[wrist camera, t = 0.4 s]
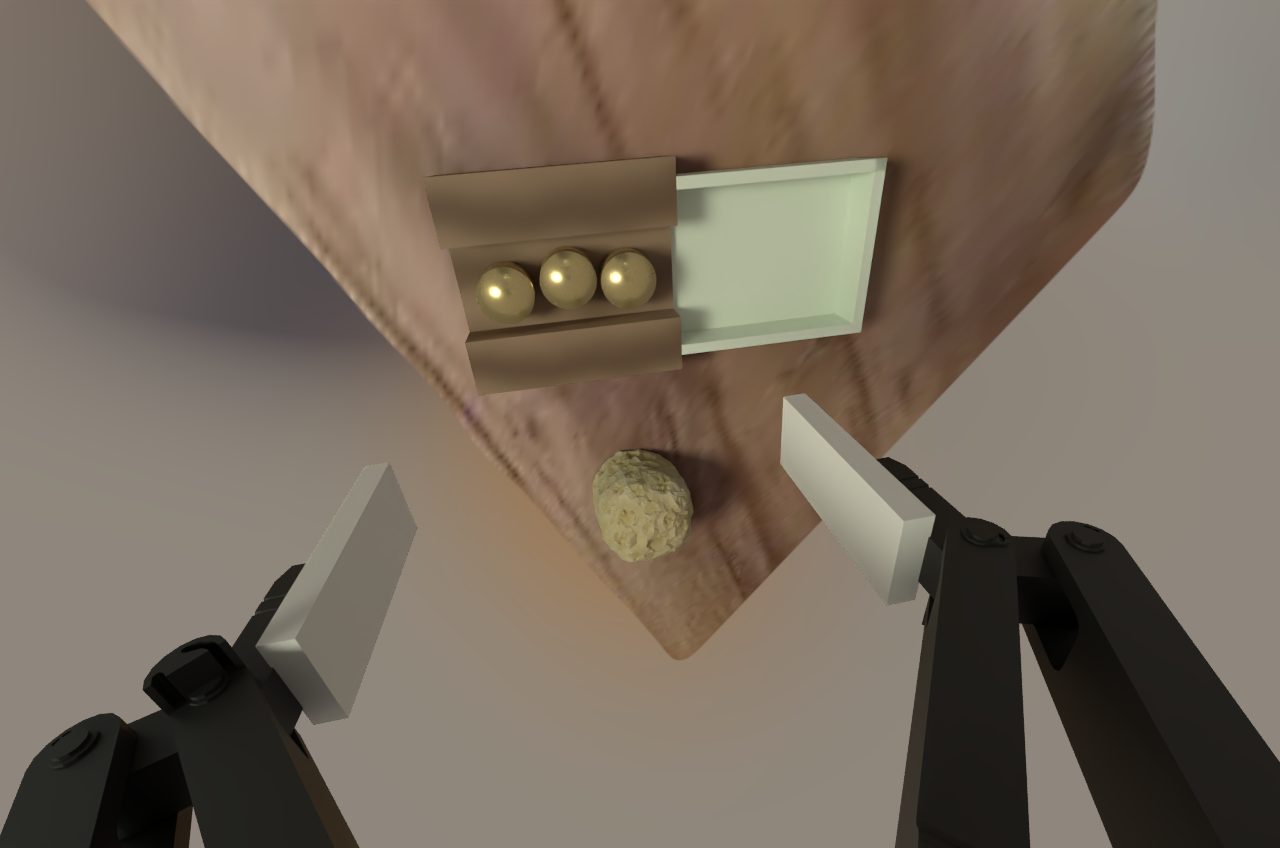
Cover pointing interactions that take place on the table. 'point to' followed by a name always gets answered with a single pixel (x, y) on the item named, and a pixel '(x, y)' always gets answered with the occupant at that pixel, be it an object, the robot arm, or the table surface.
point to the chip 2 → (567, 277)
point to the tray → (774, 251)
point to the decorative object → (642, 505)
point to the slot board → (541, 221)
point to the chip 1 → (506, 292)
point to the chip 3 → (627, 278)
